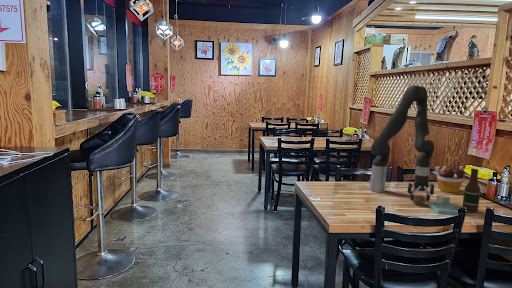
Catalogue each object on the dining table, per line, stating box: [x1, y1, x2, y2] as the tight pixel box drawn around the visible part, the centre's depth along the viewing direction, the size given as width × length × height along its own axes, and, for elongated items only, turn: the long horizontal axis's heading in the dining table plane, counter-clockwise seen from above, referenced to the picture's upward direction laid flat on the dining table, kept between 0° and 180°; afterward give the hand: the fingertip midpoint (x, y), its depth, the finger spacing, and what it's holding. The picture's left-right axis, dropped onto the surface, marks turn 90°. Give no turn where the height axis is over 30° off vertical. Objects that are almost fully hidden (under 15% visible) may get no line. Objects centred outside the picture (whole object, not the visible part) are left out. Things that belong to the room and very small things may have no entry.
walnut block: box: [412, 194, 426, 207], centre depth 205 cm, size 5×5×5 cm
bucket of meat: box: [434, 160, 467, 194], centre depth 236 cm, size 20×16×20 cm
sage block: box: [435, 194, 451, 203], centre depth 206 cm, size 5×5×5 cm
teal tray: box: [426, 201, 460, 215], centre depth 196 cm, size 14×14×2 cm
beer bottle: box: [461, 168, 481, 214], centre depth 194 cm, size 8×8×24 cm
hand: (419, 200), depth 205 cm, fingers open, 8 cm apart
